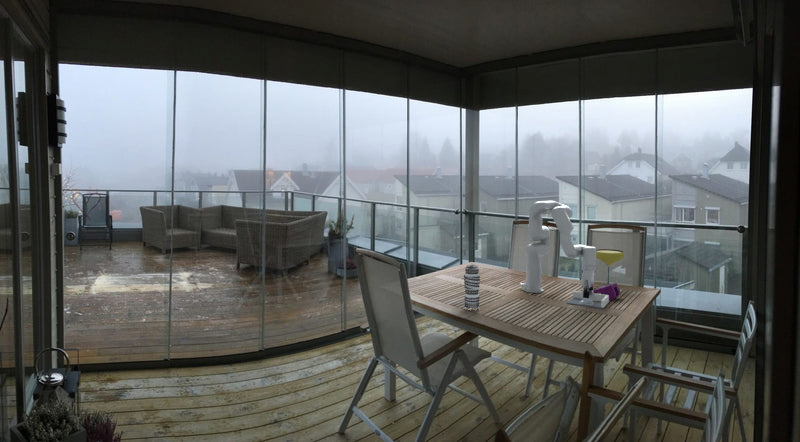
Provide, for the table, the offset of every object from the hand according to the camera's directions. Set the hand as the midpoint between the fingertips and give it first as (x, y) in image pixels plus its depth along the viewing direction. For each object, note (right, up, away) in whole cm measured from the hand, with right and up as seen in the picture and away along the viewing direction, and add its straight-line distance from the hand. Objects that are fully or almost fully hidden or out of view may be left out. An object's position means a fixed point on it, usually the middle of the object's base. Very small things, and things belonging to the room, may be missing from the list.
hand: (588, 296), depth 272 cm
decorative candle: (-70, -6, -8) cm, 71 cm away
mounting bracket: (+14, -3, +13) cm, 20 cm away
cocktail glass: (+28, -1, +37) cm, 47 cm away
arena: (0, -4, 0) cm, 4 cm away
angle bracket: (-1, -4, -2) cm, 4 cm away
